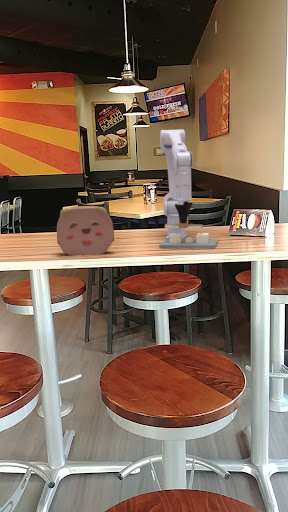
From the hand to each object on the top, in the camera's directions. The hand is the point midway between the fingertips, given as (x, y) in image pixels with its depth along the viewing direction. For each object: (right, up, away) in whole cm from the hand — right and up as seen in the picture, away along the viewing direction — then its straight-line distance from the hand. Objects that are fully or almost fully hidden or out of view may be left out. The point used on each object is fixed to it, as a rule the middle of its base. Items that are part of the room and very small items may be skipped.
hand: (184, 222), depth 164 cm
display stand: (+2, -8, +1) cm, 9 cm away
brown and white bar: (0, -2, 0) cm, 2 cm away
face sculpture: (-35, -12, -8) cm, 38 cm away
